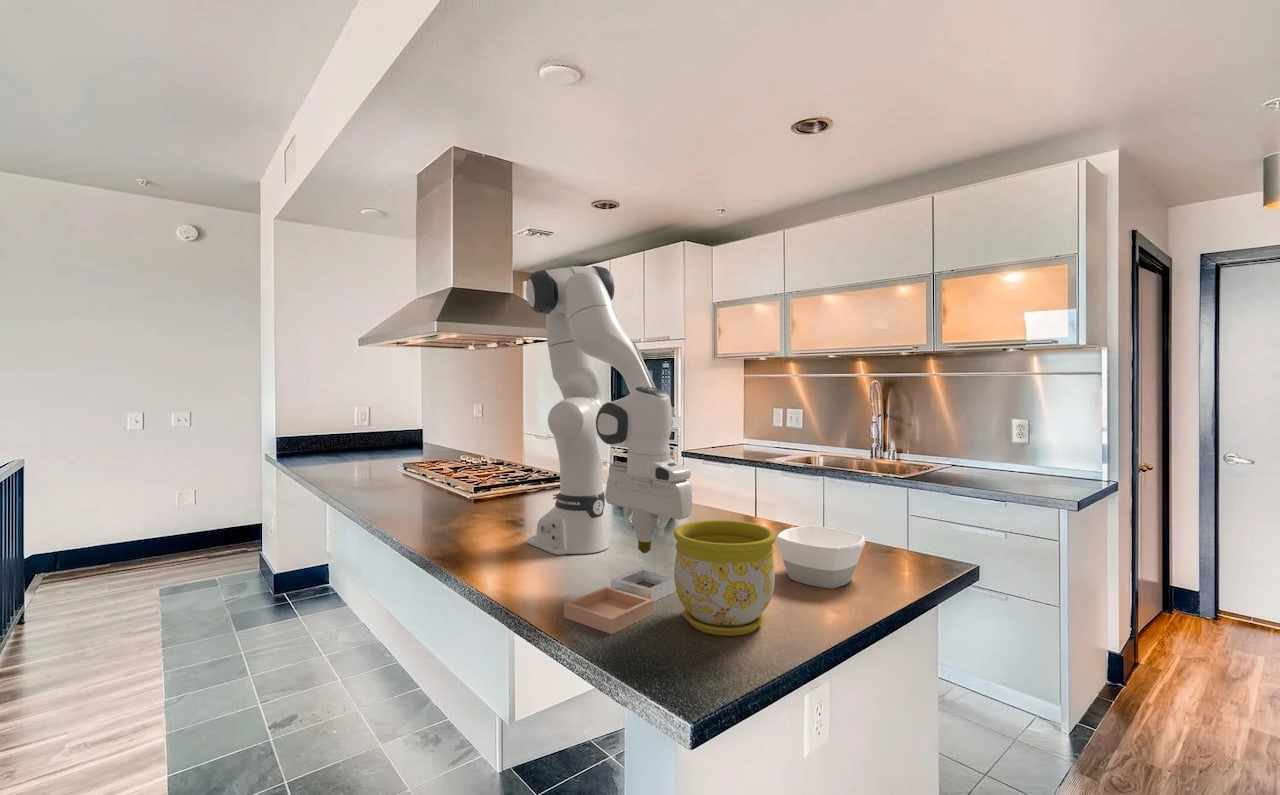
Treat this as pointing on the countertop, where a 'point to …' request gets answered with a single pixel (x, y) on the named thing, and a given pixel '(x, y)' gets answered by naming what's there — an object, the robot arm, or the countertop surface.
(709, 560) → the flowerpot
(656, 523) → the light bulb
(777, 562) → the countertop surface
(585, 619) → the tray
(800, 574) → the bowl
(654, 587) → the socket collar
